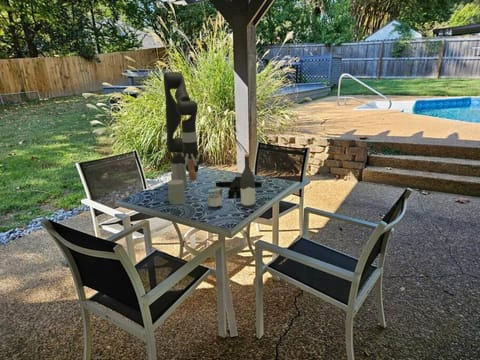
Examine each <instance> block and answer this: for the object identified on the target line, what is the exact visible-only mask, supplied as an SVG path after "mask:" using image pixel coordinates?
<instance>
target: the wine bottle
mask: <svg viewBox="0 0 480 360" xmlns="http://www.w3.org/2000/svg"><path fill="white" fill-rule="evenodd" d="M240 177H241V180H240V184H241V198H240V205H241V207H243V208H247V209H250V208H254V207H255V205H256V187H255V182H256V180H255V176H254V173H253V171H252V169H251V167H250V154H249V153H244V168H243V171H242V173H241V175H240Z"/></svg>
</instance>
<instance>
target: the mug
mask: <svg viewBox="0 0 480 360" xmlns="http://www.w3.org/2000/svg"><path fill="white" fill-rule="evenodd" d="M222 190H223V189H222V187H217V188H215V190H214V193H212V194H208V196H207V197H206V201H207V206H209V207H215V208H216V207H219V206H221V205H222V202H223V191H222Z"/></svg>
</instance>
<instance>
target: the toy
mask: <svg viewBox="0 0 480 360" xmlns="http://www.w3.org/2000/svg"><path fill="white" fill-rule="evenodd" d="M240 180H241V176H235V177H234V178H233V179H232V181H217V182H215V187H218V188H229V189H228V190H227V191H228V192H227V194H228V199H234V198H236V199H241V184H240ZM262 186H263V184H262V182H260V181H255V188H260V187H262Z"/></svg>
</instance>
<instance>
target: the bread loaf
mask: <svg viewBox="0 0 480 360" xmlns="http://www.w3.org/2000/svg"><path fill="white" fill-rule="evenodd" d="M188 170H189V172H188V177H189V178H188V180H189V181H191V182H193V181H194V182H195V181H197V179H198V178H197V172H195V164H194V162H193V159H188Z"/></svg>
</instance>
